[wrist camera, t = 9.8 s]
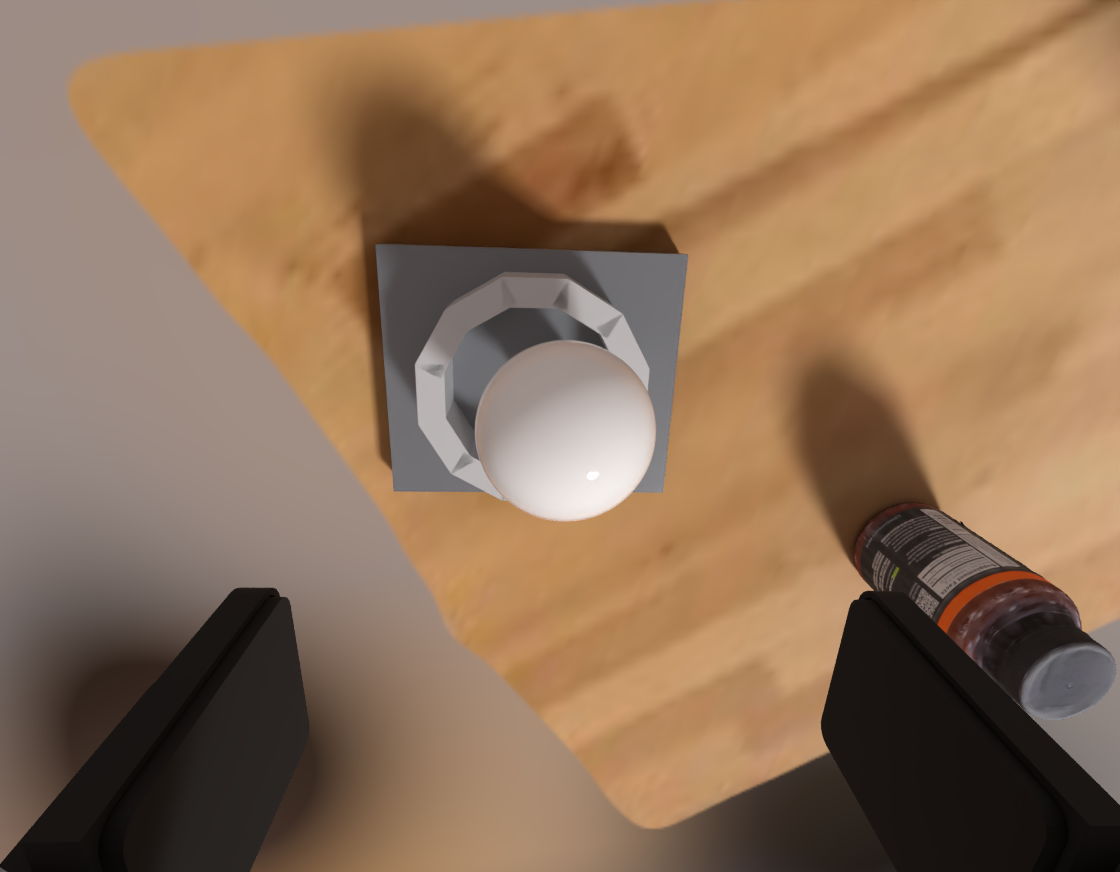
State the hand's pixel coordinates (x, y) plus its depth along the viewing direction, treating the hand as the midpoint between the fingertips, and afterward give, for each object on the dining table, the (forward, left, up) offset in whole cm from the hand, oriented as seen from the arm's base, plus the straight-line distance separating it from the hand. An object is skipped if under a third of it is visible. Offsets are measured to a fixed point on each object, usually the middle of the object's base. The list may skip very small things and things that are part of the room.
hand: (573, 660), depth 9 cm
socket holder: (0, 0, -21) cm, 21 cm away
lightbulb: (-1, 0, -19) cm, 19 cm away
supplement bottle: (-22, +10, -21) cm, 32 cm away
